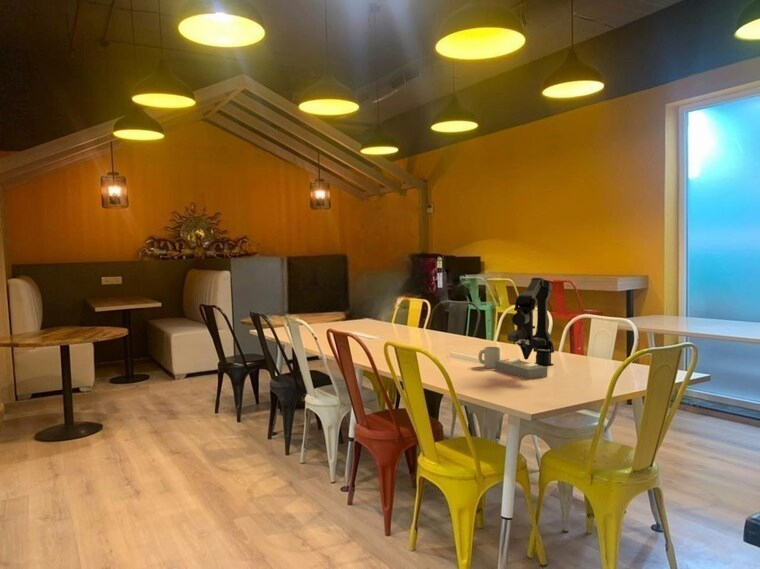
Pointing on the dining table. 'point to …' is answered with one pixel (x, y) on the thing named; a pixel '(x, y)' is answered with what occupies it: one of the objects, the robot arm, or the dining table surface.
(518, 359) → the rocker
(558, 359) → the dining table surface
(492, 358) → the cup
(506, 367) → the grey rocker switch panel
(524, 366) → the rocker
